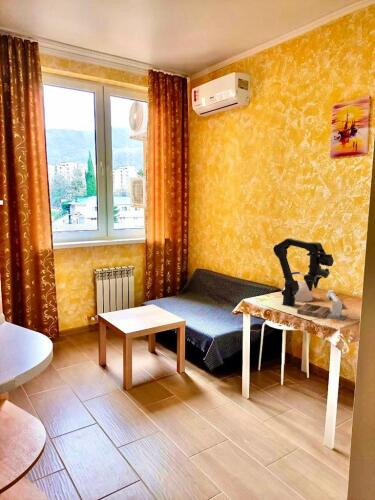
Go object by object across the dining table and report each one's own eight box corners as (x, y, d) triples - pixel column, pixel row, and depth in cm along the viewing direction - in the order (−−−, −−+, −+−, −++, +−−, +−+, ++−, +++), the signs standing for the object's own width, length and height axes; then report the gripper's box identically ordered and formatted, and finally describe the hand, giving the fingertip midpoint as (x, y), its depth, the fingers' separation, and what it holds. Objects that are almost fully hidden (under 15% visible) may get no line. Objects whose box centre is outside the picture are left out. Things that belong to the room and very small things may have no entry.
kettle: (316, 302, 233) (317, 275, 230) (283, 300, 236) (284, 274, 234) (310, 294, 253) (312, 269, 250) (280, 293, 256) (281, 268, 253)
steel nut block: (331, 316, 203) (332, 302, 202) (333, 314, 207) (334, 300, 205) (339, 317, 201) (340, 303, 200) (341, 315, 204) (342, 302, 203)
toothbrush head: (336, 302, 220) (326, 287, 244) (335, 312, 222) (325, 296, 246) (345, 302, 219) (334, 287, 243) (344, 312, 221) (333, 296, 245)
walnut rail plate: (297, 313, 209) (297, 309, 209) (306, 307, 222) (306, 303, 221) (321, 318, 201) (321, 314, 200) (329, 311, 213) (329, 307, 213)
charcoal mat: (326, 317, 203) (326, 316, 203) (330, 313, 210) (330, 312, 210) (342, 320, 197) (342, 319, 197) (346, 316, 205) (346, 315, 204)
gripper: (323, 267, 199) (322, 295, 201) (333, 263, 214) (331, 288, 216) (304, 265, 205) (302, 291, 207) (314, 261, 220) (312, 286, 222)
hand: (313, 289), depth 213 cm, fingers open, 9 cm apart
